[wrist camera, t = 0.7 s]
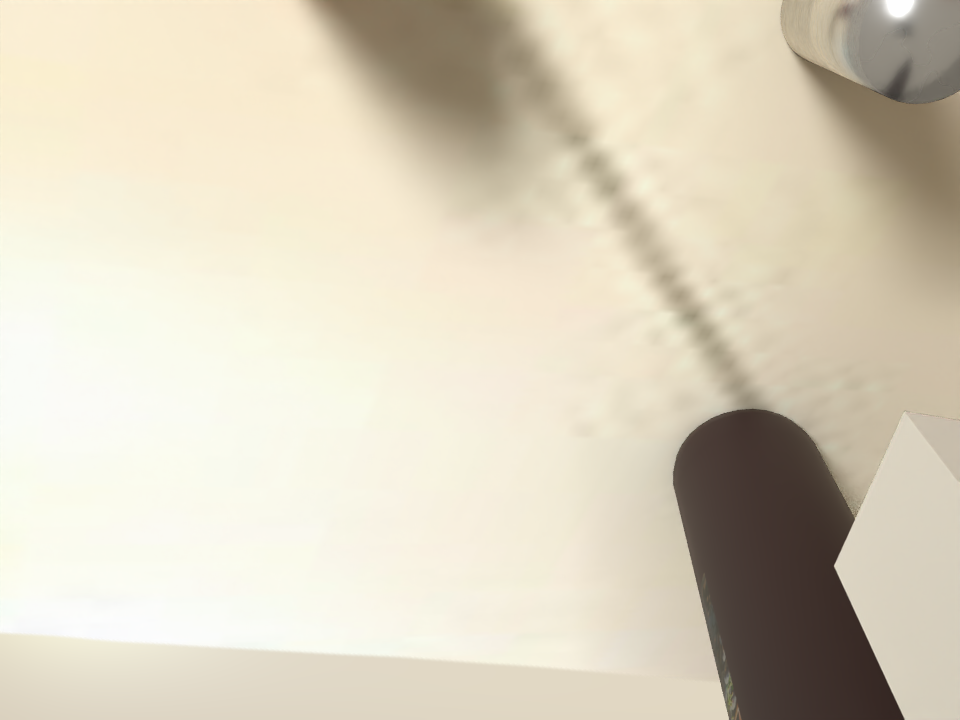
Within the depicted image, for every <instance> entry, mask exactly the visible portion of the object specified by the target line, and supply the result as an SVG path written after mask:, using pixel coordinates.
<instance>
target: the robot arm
mask: <svg viewBox="0 0 960 720" xmlns="http://www.w3.org/2000/svg"><path fill="white" fill-rule="evenodd" d="M834 567H835V569H836V571H837V574H838V576H839V578H840V580H841V582H842V584H843V587H844V589H845V591H846V593H847V595H848V597H849V600H850V602H851V604H852V606H853V608H854V611H855V613H856V615H857V617H858V619H859V621H860V624H861V626H862V628H863V630H864V632H865V634H866V637H867V639H868V641H869V643H870V645H871V647H872V650H873V652H874V654H875V656H876V658H877V660H878V663H879V665H880V667H881V669H882V671H883V673H884V676H885V678H886V680H887V682H888V684H889V686H890V689H891V691H892V693H893V695H894V697H895V699H896V702H897V704H898V706H899V708H900V710H901V712H902V715H903V717H904V719H905V720H960V420H955V419H949V418H943V417H937V416H931V415H925V414H919V413H913V412H907V411H904V413H903V415H902V417H901V419H900V422H899V424H898V426H897V428H896V430H895V433H894V435H893V437H892V439H891V441H890V444H889V446H888V448H887V450H886V452H885V455H884V457H883V459H882V461H881V463H880V466H879V468H878V470H877V472H876V475H875V477H874V479H873V481H872V483H871V486H870V488H869V490H868V492H867V494H866V497H865V499H864V501H863V503H862V505H861V508H860V510H859V512H858V514H857V516H856V519H855V521H854V523H853V525H852V527H851V530H850V532H849V534H848V536H847V539H846V541H845V543H844V545H843V547H842V550H841V552H840V554H839V556H838V558H837V561H836V563H835V565H834Z"/></svg>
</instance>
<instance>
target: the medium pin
mask: <svg viewBox="0 0 960 720" xmlns="http://www.w3.org/2000/svg"><path fill="white" fill-rule="evenodd" d="M781 27H782V31H783V34H784V37H785V39H786V41H787V43H788V44H789V46H790V47H791V49H792V50H793V51H794V52H795V53H797V54H798V55H799V56H801V57H802V58H804V59H806V60H808V61H810V62H812V63H815V64H817V65H819V66H821V67H823V68H825V69H828V70H830V71H832V72H834V73H836V74H838V75H841V76H843V77H845V78H847V79H849V80H851V81H854V82H856V83H858V84H860V85H862V86H864V87H867V88H869V89H871V90H873V91H875V92H877V93H880V94H882V95H884V96H886V97H888V98H890V99H893V100H896V101H899V102H904V103H911V104H920V103H929V102H934V101H937V100H940V99H944V98H946V97H948V96H950V95H953V94H954V93H956V92H958V91H960V0H783V2H782V7H781Z"/></svg>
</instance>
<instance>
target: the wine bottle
mask: <svg viewBox="0 0 960 720" xmlns="http://www.w3.org/2000/svg"><path fill="white" fill-rule="evenodd" d="M673 485H674V489H675V493H676V497H677V502H678V506H679V510H680V514H681V518H682V523H683V527H684V531H685V535H686V539H687V544H688V548H689V552H690V556H691V560H692V565H693V569H694V573H695V577H696V582H697V586H698V590H699V594H700V598H701V603H702V607H703V611H704V615H705V619H706V624H707V628H708V632H709V636H710V640H711V645H712V649H713V653H714V657H715V661H716V666H717V670H718V674H719V678H720V682H721V687H722V691H723V695H724V699H725V703H726V708H727V712H728V716H729V720H905V719H904V717H903V715H902V712H901V710H900V708H899V706H898V704H897V702H896V699H895V697H894V695H893V693H892V691H891V689H890V686H889V684H888V682H887V680H886V678H885V676H884V673H883V671H882V669H881V667H880V665H879V663H878V660H877V658H876V656H875V654H874V652H873V650H872V647H871V645H870V643H869V641H868V639H867V637H866V634H865V632H864V630H863V628H862V626H861V624H860V621H859V619H858V617H857V615H856V613H855V611H854V608H853V606H852V604H851V602H850V600H849V597H848V595H847V593H846V591H845V589H844V587H843V584H842V582H841V580H840V578H839V576H838V574H837V571H836V569H835V567H834V565H835V563H836V561H837V558H838V556H839V554H840V552H841V550H842V547H843V545H844V543H845V541H846V539H847V536H848V534H849V532H850V530H851V527H852V525H853V523H854V521H855V518H854V516H853V514H852V512H851V511H850V509H849V507H848V505H847V503H846V501H845V499H844V498H843V496H842V494H841V492H840V490H839V488H838V486H837V485H836V483H835V481H834V479H833V477H832V475H831V473H830V471H829V470H828V468H827V466H826V464H825V462H824V460H823V458H822V457H821V455H820V453H819V451H818V449H817V447H816V445H815V444H814V442H813V441H812V439H811V438H810V437H809V435H808V434H807V433H806V432H805V431H804V430H802V429H801V428H800V427H799V426H798V425H796V424H795V423H794V422H793V421H791V420H790V419H788V418H786V417H784V416H782V415H780V414H777V413H773V412H770V411H766V410H756V409H746V410H736V411H732V412H727V413H724V414H721V415H719V416H716V417H714V418H711V419H710V420H708V421H706V422H705V423H703V424H702V425H700V426H699V427H698V428H696V429H695V430H694V431H693V432H692V433H691V434H690V435H689V436H688V437H687V439H686V440H685V441H684V443H683V444H682V446H681V448H680V450H679V452H678V454H677V457H676V461H675V466H674V471H673Z"/></svg>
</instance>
